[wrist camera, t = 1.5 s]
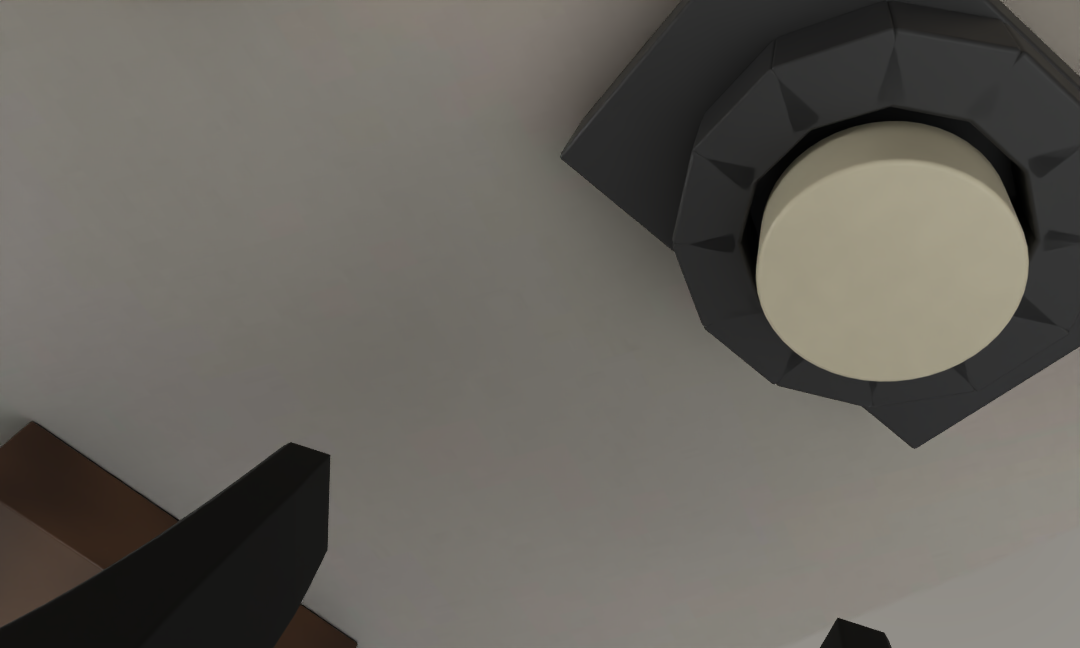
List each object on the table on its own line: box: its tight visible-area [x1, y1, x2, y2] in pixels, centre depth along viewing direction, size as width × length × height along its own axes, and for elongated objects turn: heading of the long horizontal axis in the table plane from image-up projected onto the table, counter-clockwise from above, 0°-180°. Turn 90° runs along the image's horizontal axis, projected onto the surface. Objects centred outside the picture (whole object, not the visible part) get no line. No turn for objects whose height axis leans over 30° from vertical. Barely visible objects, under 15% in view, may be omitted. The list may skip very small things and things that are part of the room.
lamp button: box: [756, 121, 1029, 382], centre depth 14 cm, size 4×4×2 cm
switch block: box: [560, 0, 1080, 449], centre depth 16 cm, size 10×7×4 cm
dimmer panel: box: [0, 422, 357, 648], centre depth 33 cm, size 16×14×3 cm
